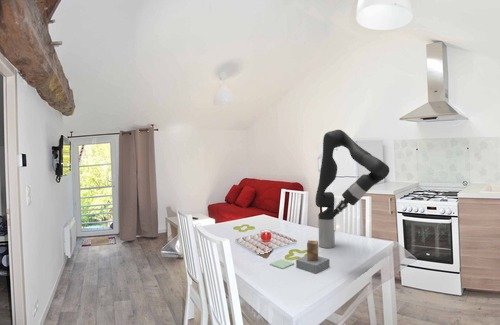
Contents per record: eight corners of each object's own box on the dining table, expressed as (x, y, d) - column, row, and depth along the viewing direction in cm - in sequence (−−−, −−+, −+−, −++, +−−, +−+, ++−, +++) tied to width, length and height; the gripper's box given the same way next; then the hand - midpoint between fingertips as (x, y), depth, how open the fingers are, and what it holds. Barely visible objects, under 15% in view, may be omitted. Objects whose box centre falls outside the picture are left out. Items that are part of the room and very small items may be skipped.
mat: (280, 260, 176) (280, 259, 176) (293, 264, 170) (293, 263, 170) (269, 264, 170) (269, 263, 170) (282, 269, 164) (282, 268, 164)
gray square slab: (310, 261, 174) (310, 253, 174) (329, 266, 165) (329, 259, 165) (296, 267, 166) (296, 259, 165) (315, 273, 157) (315, 265, 157)
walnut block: (318, 258, 167) (317, 240, 166) (317, 261, 162) (317, 243, 162) (308, 257, 168) (308, 240, 168) (307, 260, 164) (307, 243, 163)
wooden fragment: (256, 244, 206) (256, 243, 206) (273, 244, 205) (273, 243, 205) (254, 258, 181) (254, 257, 180) (273, 259, 180) (273, 257, 180)
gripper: (349, 186, 164) (327, 208, 169) (346, 189, 151) (323, 213, 156) (361, 196, 162) (338, 219, 167) (359, 201, 149) (334, 224, 154)
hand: (331, 216), depth 161 cm, fingers open, 8 cm apart
